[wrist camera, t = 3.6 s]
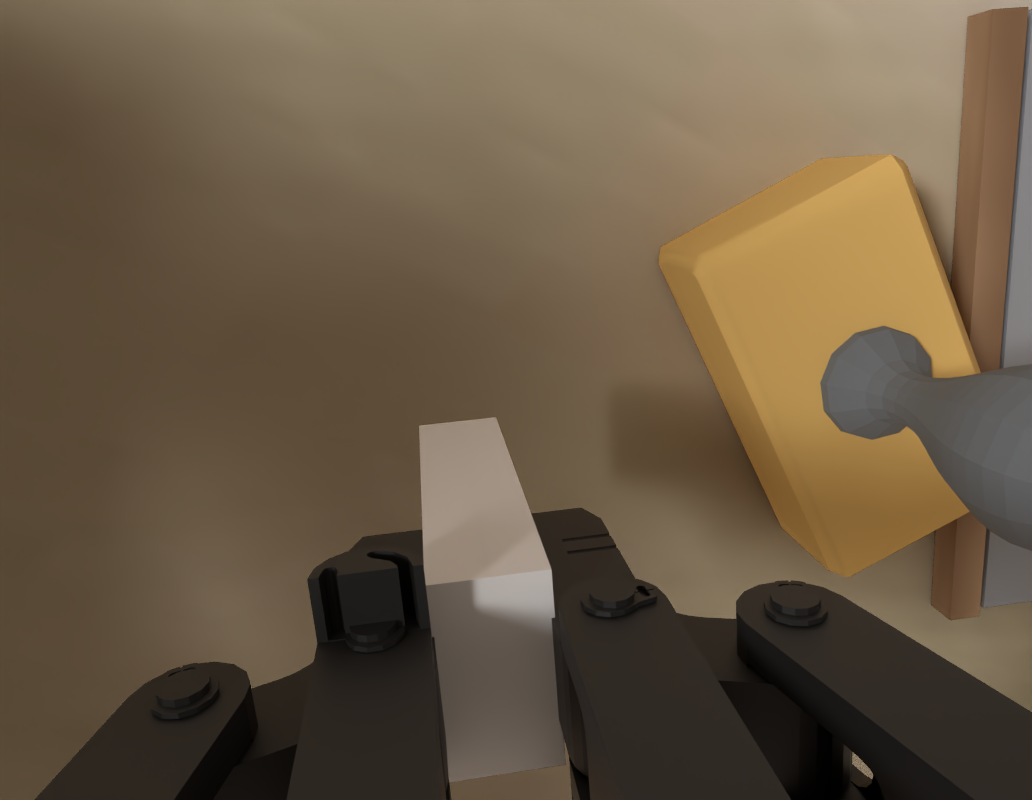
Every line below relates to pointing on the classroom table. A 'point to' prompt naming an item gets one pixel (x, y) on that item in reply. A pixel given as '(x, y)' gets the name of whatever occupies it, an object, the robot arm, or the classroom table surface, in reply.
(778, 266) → the rubber stamp
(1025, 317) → the mat
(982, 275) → the rail
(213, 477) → the classroom table surface
